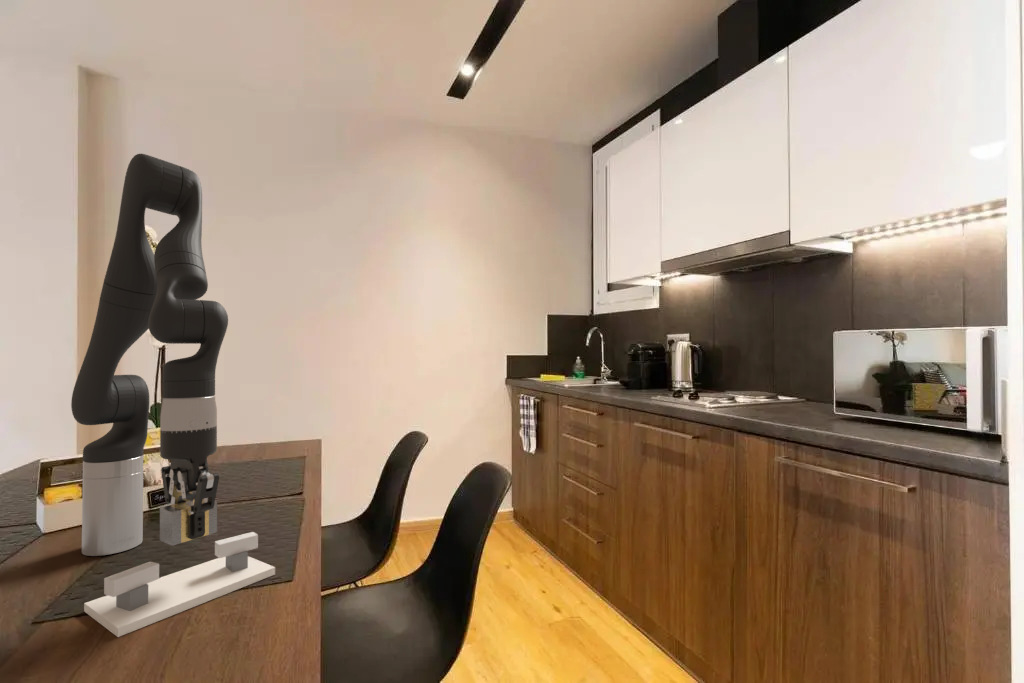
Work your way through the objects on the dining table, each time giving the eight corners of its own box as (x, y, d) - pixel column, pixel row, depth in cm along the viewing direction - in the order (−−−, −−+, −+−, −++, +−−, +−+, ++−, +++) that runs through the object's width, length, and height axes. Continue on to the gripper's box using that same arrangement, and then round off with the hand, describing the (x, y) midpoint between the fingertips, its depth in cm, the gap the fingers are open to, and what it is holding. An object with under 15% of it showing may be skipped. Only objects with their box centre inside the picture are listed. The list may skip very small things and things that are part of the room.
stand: (84, 611, 72) (84, 569, 73) (237, 558, 91) (237, 524, 91) (117, 637, 66) (118, 590, 66) (275, 574, 84) (275, 538, 84)
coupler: (159, 540, 77) (159, 507, 77) (204, 527, 82) (204, 497, 83) (171, 545, 75) (172, 512, 75) (217, 532, 80) (217, 501, 80)
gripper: (237, 425, 78) (237, 536, 78) (192, 419, 86) (192, 520, 86) (185, 432, 72) (184, 552, 72) (142, 425, 80) (141, 533, 79)
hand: (188, 534), depth 79 cm, fingers closed on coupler, 4 cm apart
